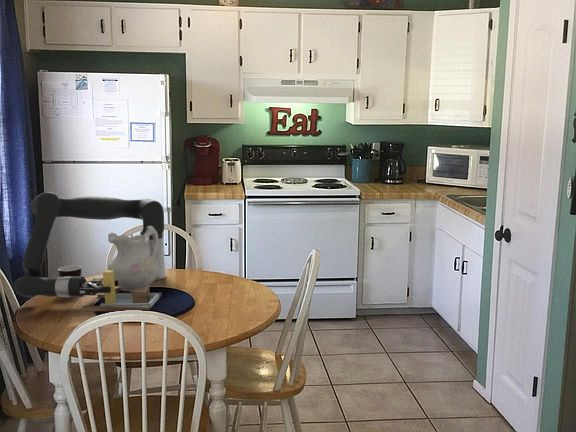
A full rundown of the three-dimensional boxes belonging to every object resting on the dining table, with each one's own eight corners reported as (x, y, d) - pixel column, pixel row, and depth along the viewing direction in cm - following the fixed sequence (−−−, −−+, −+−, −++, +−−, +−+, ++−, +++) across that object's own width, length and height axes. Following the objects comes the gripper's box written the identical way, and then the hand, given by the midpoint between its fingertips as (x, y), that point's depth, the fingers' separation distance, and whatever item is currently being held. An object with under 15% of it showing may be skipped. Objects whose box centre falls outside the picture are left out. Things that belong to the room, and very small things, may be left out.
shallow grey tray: (112, 300, 251) (110, 266, 249) (160, 300, 250) (157, 266, 248) (100, 311, 239) (97, 276, 236) (150, 311, 237) (147, 275, 235)
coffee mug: (76, 296, 259) (74, 271, 257) (56, 295, 260) (53, 270, 259) (91, 288, 270) (89, 263, 268) (71, 287, 272) (69, 263, 270)
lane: (99, 299, 254) (99, 292, 254) (161, 298, 252) (161, 292, 252) (81, 314, 237) (81, 307, 236) (148, 313, 235) (148, 307, 234)
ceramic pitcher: (139, 283, 279) (131, 224, 276) (175, 284, 269) (167, 223, 266) (101, 297, 261) (92, 234, 257) (138, 299, 251) (129, 234, 247)
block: (136, 300, 246) (135, 287, 246) (150, 300, 246) (149, 287, 245) (132, 305, 241) (131, 291, 241) (146, 305, 241) (145, 291, 240)
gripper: (62, 282, 237) (106, 281, 236) (77, 271, 251) (119, 271, 250) (64, 302, 238) (108, 302, 237) (79, 291, 252) (121, 290, 251)
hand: (114, 286), depth 243 cm, fingers open, 8 cm apart
